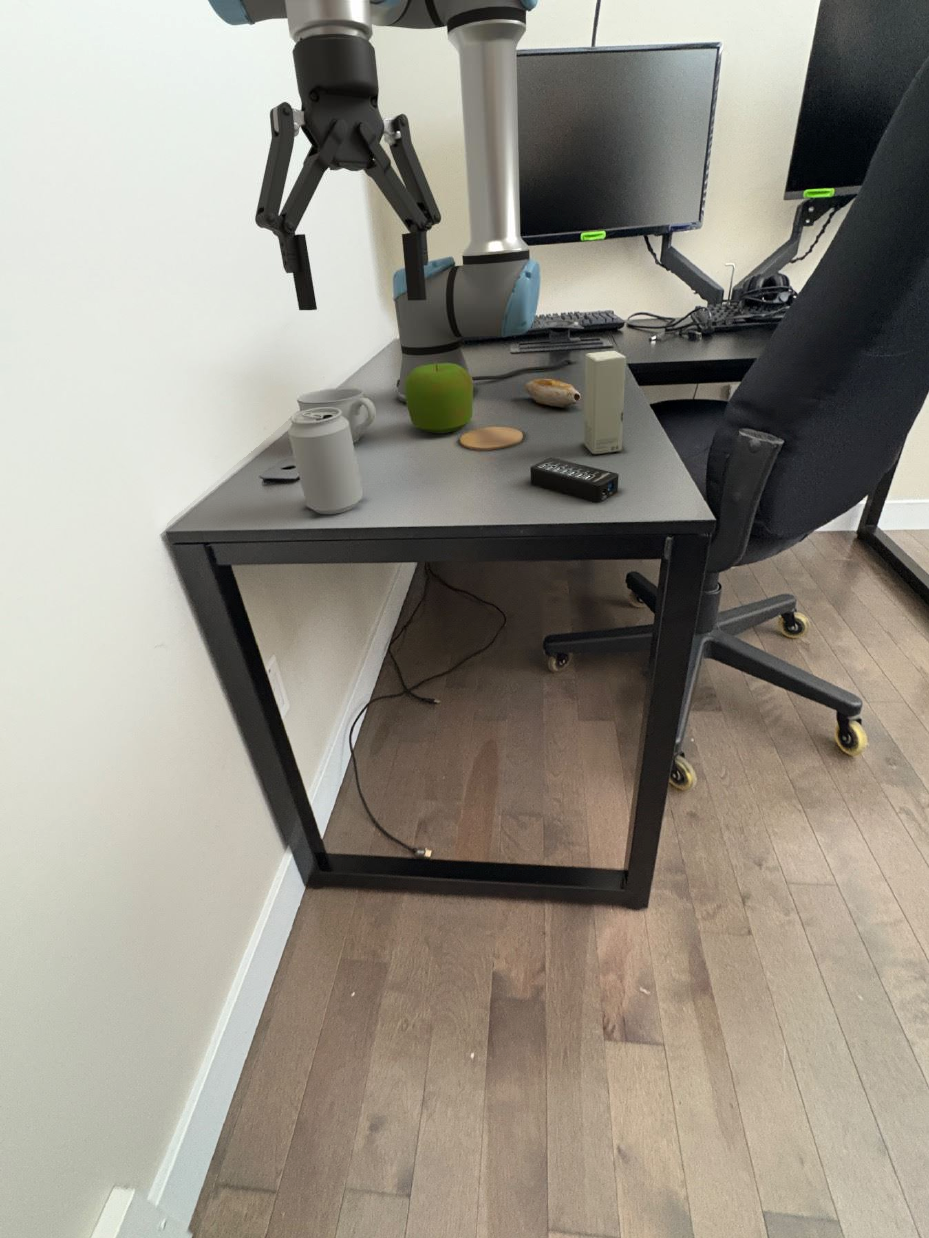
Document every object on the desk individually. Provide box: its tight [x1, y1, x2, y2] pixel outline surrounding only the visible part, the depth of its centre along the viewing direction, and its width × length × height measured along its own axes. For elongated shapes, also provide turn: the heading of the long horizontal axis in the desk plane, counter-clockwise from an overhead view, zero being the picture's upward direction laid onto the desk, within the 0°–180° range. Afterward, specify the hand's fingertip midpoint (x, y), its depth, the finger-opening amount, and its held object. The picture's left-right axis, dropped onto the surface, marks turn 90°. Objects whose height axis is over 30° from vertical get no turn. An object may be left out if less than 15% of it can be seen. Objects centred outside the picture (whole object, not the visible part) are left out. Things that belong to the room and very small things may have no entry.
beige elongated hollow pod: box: [524, 378, 582, 408], centre depth 107 cm, size 5×14×4 cm, turn 30°
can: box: [287, 407, 364, 515], centre depth 76 cm, size 8×8×12 cm
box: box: [583, 350, 627, 455], centre depth 84 cm, size 5×4×13 cm
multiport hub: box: [529, 457, 620, 503], centre depth 77 cm, size 4×11×2 cm, turn 45°
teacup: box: [296, 387, 377, 444], centre depth 98 cm, size 14×11×8 cm
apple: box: [404, 361, 474, 434], centre depth 99 cm, size 11×11×11 cm
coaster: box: [459, 426, 524, 451], centre depth 95 cm, size 10×10×1 cm
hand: (365, 305), depth 65 cm, fingers open, 13 cm apart
